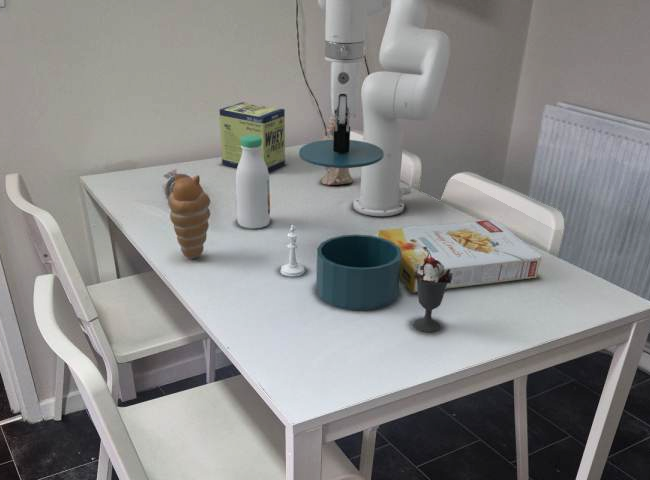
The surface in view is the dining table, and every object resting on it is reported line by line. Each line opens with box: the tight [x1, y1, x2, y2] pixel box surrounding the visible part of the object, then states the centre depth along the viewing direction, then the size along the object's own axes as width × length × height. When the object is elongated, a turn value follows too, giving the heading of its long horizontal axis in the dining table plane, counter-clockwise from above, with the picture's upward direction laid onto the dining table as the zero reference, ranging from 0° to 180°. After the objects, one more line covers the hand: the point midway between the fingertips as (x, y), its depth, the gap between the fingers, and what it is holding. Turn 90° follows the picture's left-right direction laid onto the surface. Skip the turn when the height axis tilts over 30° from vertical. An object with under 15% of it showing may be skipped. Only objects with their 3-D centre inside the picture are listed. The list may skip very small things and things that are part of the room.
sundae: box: [412, 247, 452, 333], centre depth 125 cm, size 7×7×15 cm
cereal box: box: [378, 219, 542, 294], centre depth 149 cm, size 20×6×28 cm
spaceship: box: [162, 168, 192, 200], centre depth 176 cm, size 8×35×8 cm
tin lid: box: [298, 139, 384, 169], centre depth 144 cm, size 17×17×6 cm
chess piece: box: [280, 224, 305, 277], centre depth 145 cm, size 5×5×10 cm
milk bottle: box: [235, 135, 271, 229], centre depth 164 cm, size 8×8×20 cm
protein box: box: [219, 101, 286, 173], centre depth 202 cm, size 10×16×16 cm
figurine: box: [320, 114, 354, 186], centre depth 189 cm, size 9×8×20 cm
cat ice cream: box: [167, 172, 211, 260], centre depth 148 cm, size 9×8×18 cm
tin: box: [315, 234, 402, 311], centre depth 138 cm, size 16×16×8 cm
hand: (341, 148), depth 145 cm, fingers closed on tin lid, 2 cm apart
